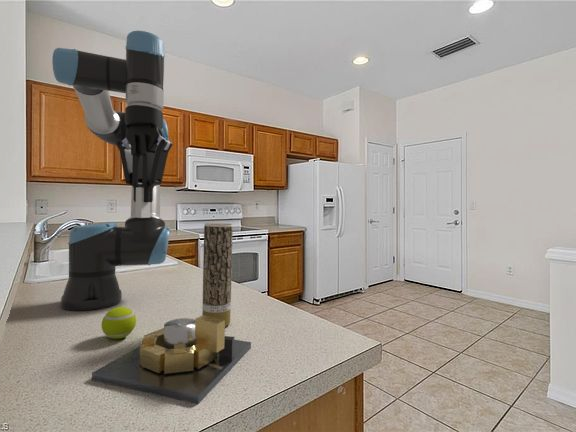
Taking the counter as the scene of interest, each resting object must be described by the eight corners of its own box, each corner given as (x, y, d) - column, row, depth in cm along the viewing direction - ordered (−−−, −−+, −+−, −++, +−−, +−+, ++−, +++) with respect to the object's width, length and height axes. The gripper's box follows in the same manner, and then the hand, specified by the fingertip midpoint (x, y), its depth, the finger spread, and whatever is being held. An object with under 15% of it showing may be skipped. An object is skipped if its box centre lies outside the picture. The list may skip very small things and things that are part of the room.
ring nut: (124, 359, 57) (125, 315, 57) (182, 334, 69) (183, 297, 68) (191, 386, 49) (192, 335, 49) (243, 352, 61) (244, 311, 61)
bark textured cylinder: (235, 322, 81) (237, 223, 80) (221, 332, 74) (223, 225, 74) (212, 318, 83) (214, 222, 82) (196, 327, 77) (198, 223, 76)
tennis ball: (137, 340, 69) (138, 309, 68) (101, 346, 65) (102, 314, 65) (134, 329, 74) (134, 301, 74) (100, 335, 71) (101, 305, 71)
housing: (91, 379, 53) (92, 336, 53) (168, 334, 72) (169, 303, 72) (198, 403, 47) (199, 355, 47) (251, 347, 66) (251, 313, 66)
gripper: (106, 105, 67) (104, 216, 68) (158, 101, 64) (156, 219, 64) (132, 115, 75) (131, 216, 75) (181, 112, 71) (178, 218, 72)
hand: (142, 217), depth 70 cm, fingers closed
